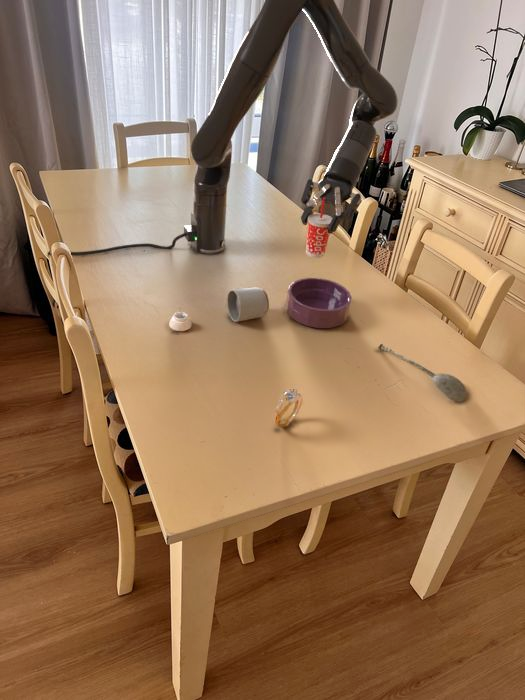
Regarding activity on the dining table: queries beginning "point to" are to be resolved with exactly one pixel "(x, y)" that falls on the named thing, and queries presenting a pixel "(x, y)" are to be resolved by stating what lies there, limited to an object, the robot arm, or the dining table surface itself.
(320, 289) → the bowl
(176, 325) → the white jar
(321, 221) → the beverage cup
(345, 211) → the robot arm
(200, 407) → the dining table surface
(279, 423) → the ring
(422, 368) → the soupspoon
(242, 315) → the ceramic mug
